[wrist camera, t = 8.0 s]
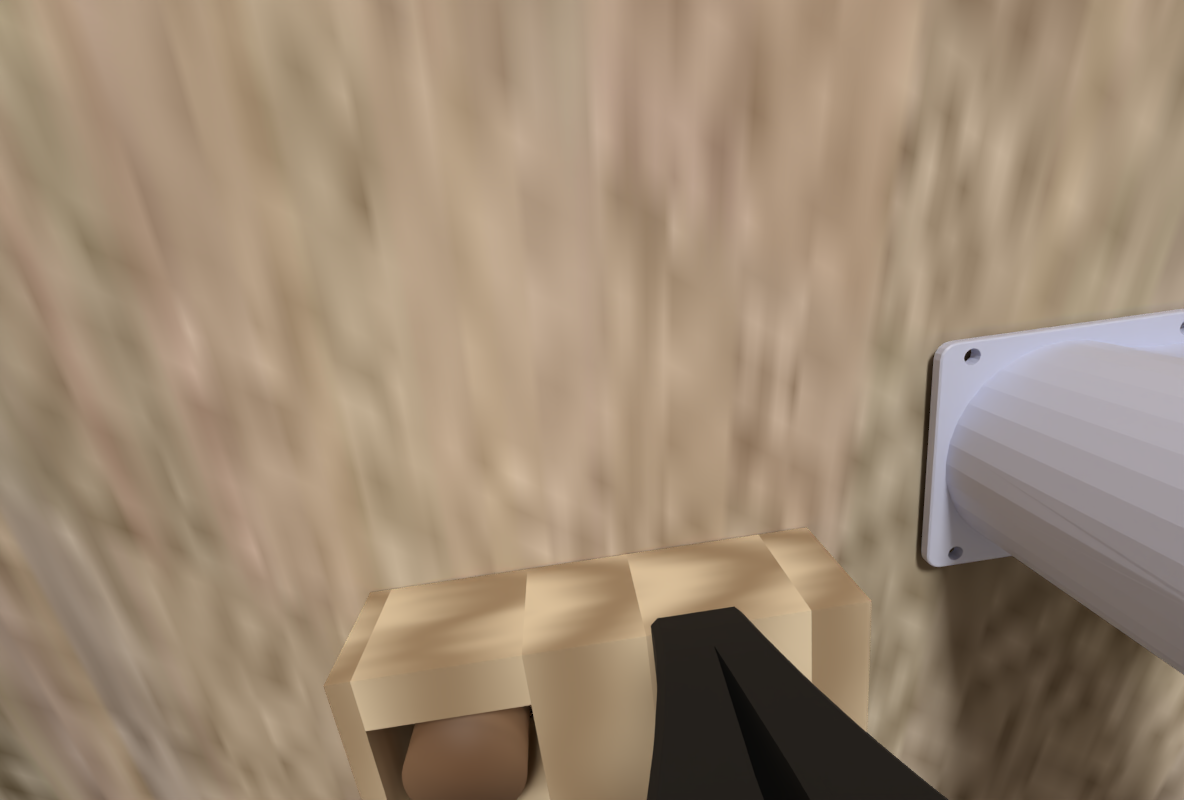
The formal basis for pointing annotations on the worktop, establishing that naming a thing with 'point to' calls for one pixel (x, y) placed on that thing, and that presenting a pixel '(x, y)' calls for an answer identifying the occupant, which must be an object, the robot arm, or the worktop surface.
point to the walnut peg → (469, 757)
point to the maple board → (583, 655)
